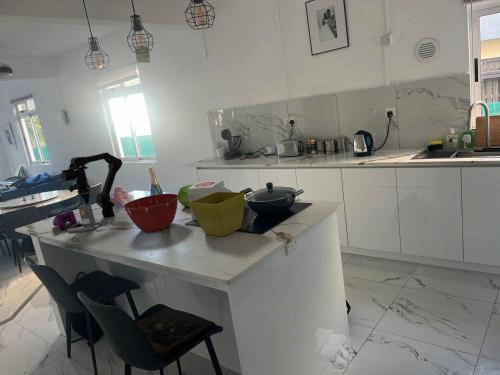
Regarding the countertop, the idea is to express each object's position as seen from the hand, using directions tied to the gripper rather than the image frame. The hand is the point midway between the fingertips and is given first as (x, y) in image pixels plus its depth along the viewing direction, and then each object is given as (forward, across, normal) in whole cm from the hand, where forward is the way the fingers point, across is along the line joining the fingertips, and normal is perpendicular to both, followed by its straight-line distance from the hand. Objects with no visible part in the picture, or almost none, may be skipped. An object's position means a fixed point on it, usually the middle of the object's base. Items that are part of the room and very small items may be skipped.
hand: (87, 202), depth 227 cm
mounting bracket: (+14, -6, -16) cm, 22 cm away
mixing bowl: (+13, +46, +34) cm, 59 cm away
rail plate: (+13, +12, -4) cm, 18 cm away
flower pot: (+13, +79, +61) cm, 101 cm away
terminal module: (+12, +13, -1) cm, 18 cm away
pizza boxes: (+13, +47, +68) cm, 84 cm away
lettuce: (+13, +21, +61) cm, 66 cm away
